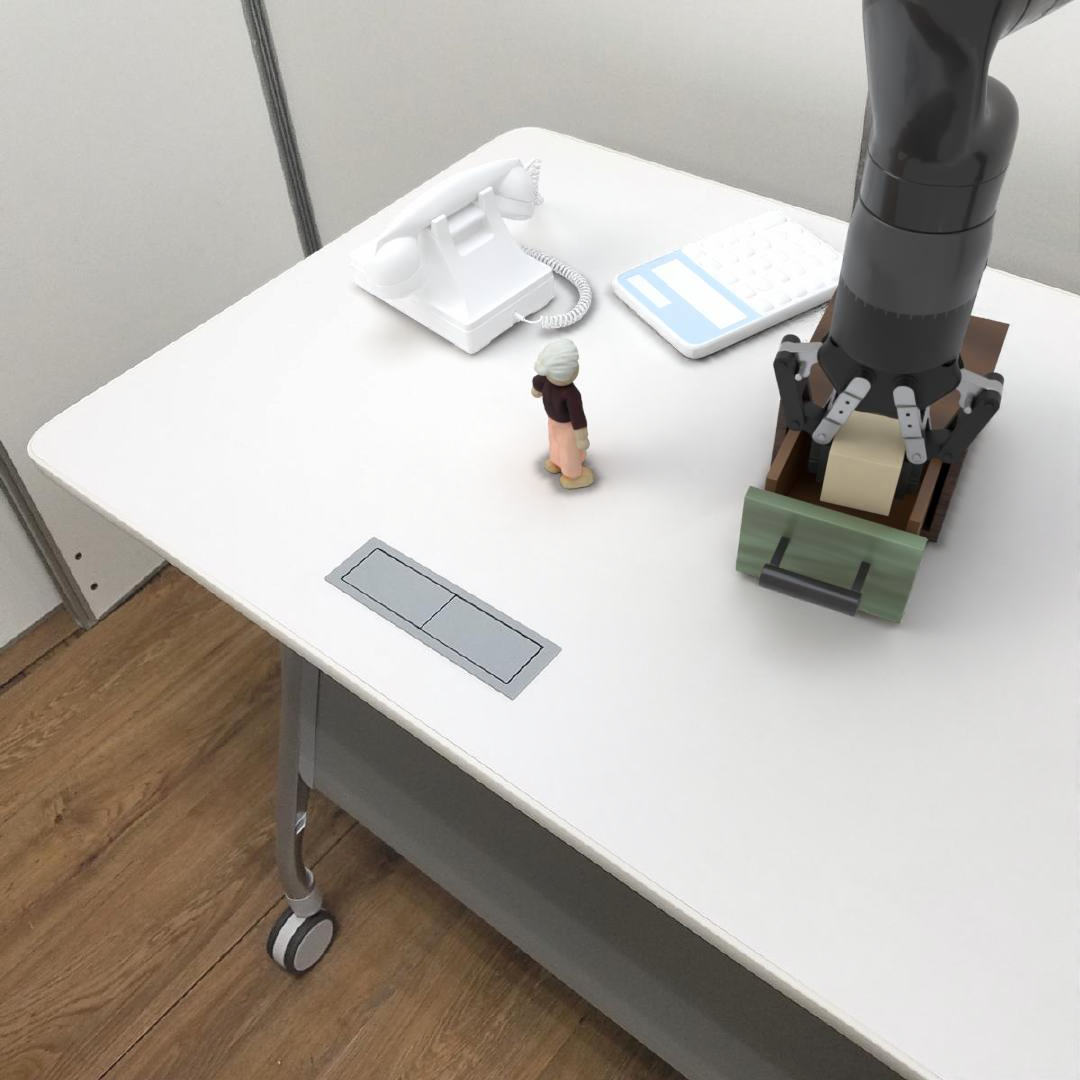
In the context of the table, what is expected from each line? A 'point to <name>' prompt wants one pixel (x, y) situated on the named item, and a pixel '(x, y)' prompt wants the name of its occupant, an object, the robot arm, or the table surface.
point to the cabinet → (977, 357)
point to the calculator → (732, 283)
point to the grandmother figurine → (563, 412)
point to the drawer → (832, 539)
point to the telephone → (466, 258)
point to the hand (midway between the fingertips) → (861, 481)
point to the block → (864, 463)
